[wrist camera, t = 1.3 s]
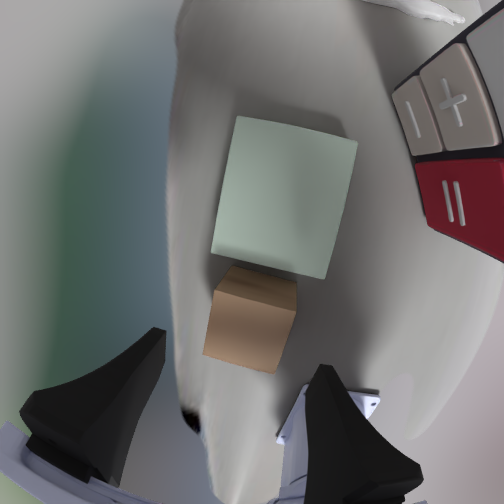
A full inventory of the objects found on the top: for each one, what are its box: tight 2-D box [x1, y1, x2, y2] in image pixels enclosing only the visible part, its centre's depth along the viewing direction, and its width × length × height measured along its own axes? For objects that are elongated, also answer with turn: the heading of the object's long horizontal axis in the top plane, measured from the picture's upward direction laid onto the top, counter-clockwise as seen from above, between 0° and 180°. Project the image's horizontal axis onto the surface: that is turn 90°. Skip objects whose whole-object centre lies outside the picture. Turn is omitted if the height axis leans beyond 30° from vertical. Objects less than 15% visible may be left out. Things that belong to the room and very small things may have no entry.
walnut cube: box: [203, 265, 297, 374], centre depth 20 cm, size 5×5×5 cm
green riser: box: [211, 116, 358, 280], centre depth 18 cm, size 9×8×3 cm
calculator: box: [392, 0, 504, 263], centre depth 10 cm, size 11×4×15 cm, turn 18°
